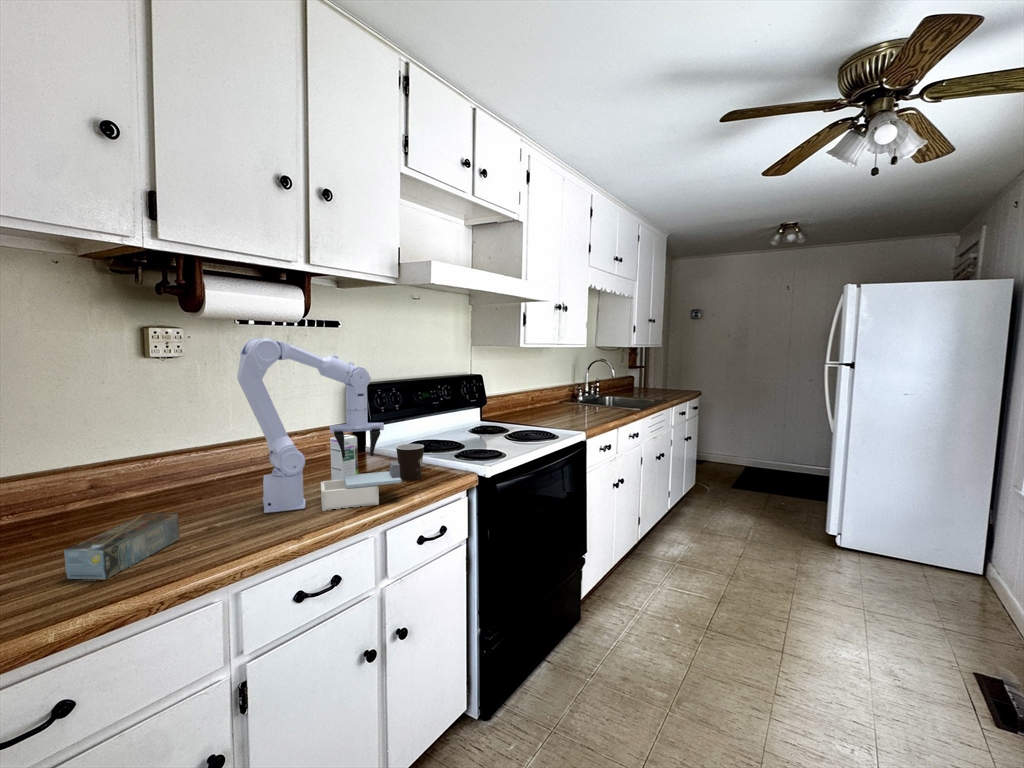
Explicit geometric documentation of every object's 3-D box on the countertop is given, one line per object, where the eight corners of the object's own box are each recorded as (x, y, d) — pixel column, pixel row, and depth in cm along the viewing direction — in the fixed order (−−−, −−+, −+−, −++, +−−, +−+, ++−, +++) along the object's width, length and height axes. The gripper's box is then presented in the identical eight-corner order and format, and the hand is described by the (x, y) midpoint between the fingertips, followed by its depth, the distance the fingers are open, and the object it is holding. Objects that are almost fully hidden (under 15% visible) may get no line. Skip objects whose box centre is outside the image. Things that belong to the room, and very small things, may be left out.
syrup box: (342, 487, 145) (341, 438, 144) (330, 483, 149) (329, 436, 147) (358, 482, 150) (357, 436, 148) (347, 479, 153) (346, 433, 152)
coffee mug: (411, 482, 150) (410, 450, 149) (390, 478, 154) (390, 447, 154) (436, 474, 160) (435, 444, 159) (416, 470, 164) (415, 441, 163)
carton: (322, 511, 124) (321, 491, 124) (321, 499, 134) (320, 481, 133) (378, 504, 130) (378, 486, 129) (374, 493, 139) (373, 476, 138)
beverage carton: (62, 581, 88) (60, 545, 87) (147, 539, 107) (145, 509, 106) (105, 582, 87) (102, 547, 87) (182, 540, 106) (181, 510, 106)
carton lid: (346, 488, 126) (346, 471, 126) (344, 478, 135) (343, 462, 135) (401, 482, 131) (401, 466, 131) (395, 473, 141) (395, 458, 140)
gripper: (330, 412, 132) (331, 461, 133) (385, 409, 137) (385, 457, 138) (329, 408, 138) (330, 456, 139) (381, 406, 144) (382, 452, 145)
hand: (357, 456), depth 139 cm, fingers open, 7 cm apart
